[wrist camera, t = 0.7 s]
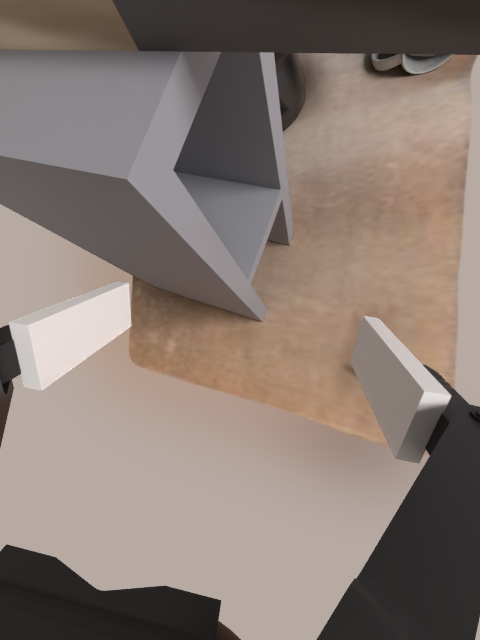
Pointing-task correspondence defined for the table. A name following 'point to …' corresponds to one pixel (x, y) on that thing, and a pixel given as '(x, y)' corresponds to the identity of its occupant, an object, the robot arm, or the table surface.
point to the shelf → (151, 162)
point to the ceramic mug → (411, 62)
